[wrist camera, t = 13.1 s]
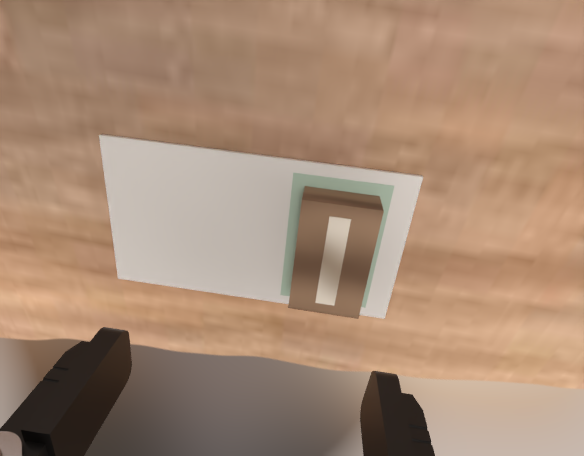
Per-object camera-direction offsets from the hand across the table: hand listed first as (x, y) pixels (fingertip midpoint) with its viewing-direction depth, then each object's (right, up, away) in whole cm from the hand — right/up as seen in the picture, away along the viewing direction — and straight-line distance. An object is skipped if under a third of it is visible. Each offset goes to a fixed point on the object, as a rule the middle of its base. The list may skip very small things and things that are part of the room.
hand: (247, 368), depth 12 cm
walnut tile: (+5, +3, +20) cm, 20 cm away
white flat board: (-2, +4, +20) cm, 21 cm away
